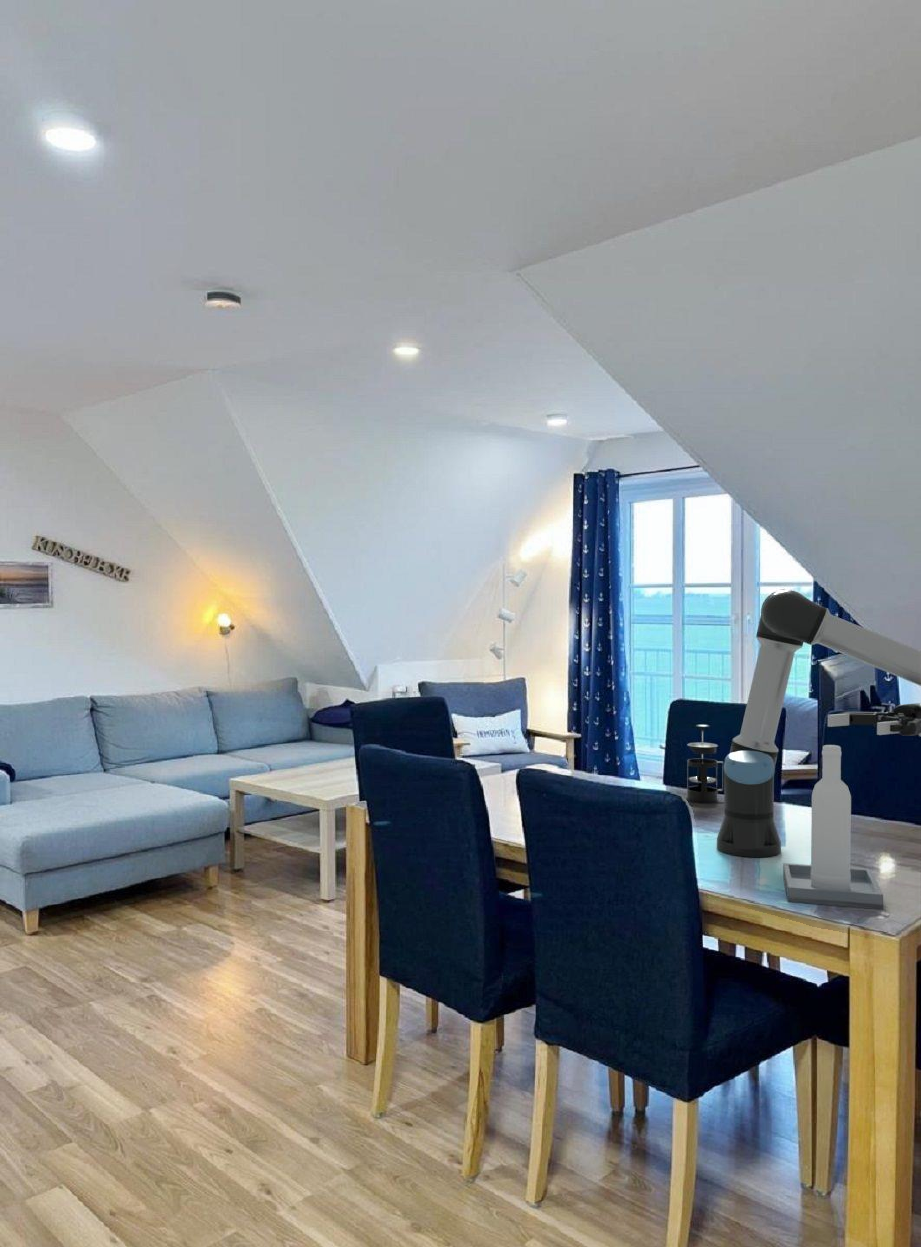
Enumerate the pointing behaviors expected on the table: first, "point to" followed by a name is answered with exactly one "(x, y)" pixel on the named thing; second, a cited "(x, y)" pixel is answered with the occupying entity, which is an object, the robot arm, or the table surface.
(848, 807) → the bottle
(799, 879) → the tray
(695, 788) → the french press
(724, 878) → the table surface
